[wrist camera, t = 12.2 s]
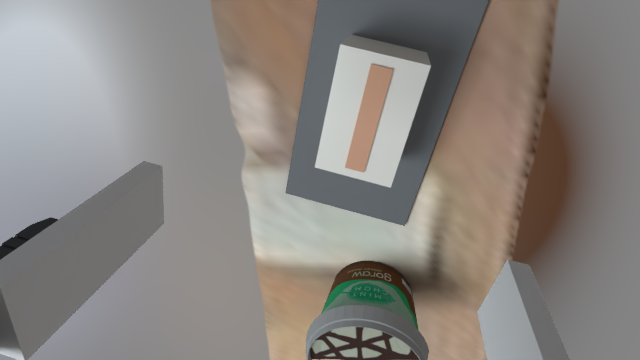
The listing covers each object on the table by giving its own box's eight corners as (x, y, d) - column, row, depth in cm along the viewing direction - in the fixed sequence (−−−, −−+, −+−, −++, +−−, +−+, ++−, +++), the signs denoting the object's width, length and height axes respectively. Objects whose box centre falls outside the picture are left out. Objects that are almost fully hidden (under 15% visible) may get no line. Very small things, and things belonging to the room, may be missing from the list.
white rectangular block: (393, 158, 36) (390, 188, 31) (327, 141, 37) (314, 168, 31) (427, 52, 31) (431, 66, 26) (351, 34, 32) (339, 44, 27)
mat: (331, -70, 29) (330, -71, 29) (500, -35, 28) (501, -35, 28) (286, 191, 41) (285, 192, 40) (404, 223, 40) (404, 225, 39)
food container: (418, 248, 41) (421, 320, 32) (425, 292, 43) (430, 369, 35) (310, 256, 44) (287, 322, 36) (322, 296, 47) (303, 367, 38)
